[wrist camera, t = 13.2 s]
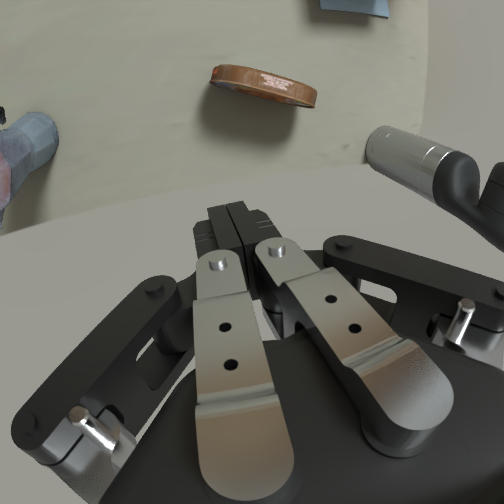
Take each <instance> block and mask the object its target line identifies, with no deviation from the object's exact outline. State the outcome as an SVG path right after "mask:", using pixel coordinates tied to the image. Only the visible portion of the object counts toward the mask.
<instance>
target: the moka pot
mask: <svg viewBox="0 0 504 504" xmlns="http://www.w3.org/2000/svg"><path fill="white" fill-rule="evenodd" d="M4 112H5V110H4V108H3V107H1V106H0V124H2V125H3V124H4V123H5V122H6V118H5V113H4ZM58 142H59V137H58V132H57V128H56V125H55V123H54V122H53V120H52V119H51V118H50V117H48V116H47V115H46V114H44V113H42V112H28V113H26V114H25V115H24V116H22V117H21V118H20V119H19V120H17V121H16V122H15V123H13V124H12V125H11V126H10V127H9V128H8V129H3V130H0V230H2V219H3V214H4V210H5V207H6V206H7V205H8V204H9V203H10V202H11V201H12V199H13V198H14V196H15V194H16V193H17V191H18V189H19V188H20V186H21V185H22V183H23V182H24V181H25V179H26V178H27V176H28V175H29V173H31V172H33V171H34V170H36V169H38V168H40V167H41V166H43V165H44V164H45V163H47V162H48V161H49V160H50V159H51V158H52V157H53V156H54V154H55V151H56V148H57V145H58Z"/></svg>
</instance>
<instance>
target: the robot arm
mask: <svg viewBox="0 0 504 504" xmlns="http://www.w3.org/2000/svg"><path fill="white" fill-rule="evenodd" d="M366 156H367V160H368V163H369V165H370V166H371V167H372V168H373V169H374V170H375V171H378V172H379V173H381V174H383V175H385V176H387V177H388V178H390V179H392V180H394V181H396V182H398V183H399V184H401V185H403V186H405V187H407V188H408V189H410V190H412V191H414V192H416V193H417V194H419V195H420V196H422V197H424V198H426V199H428V200H429V201H431V202H432V203H434V204H436V205H438V206H439V207H441V208H442V209H444V210H446V211H447V212H449V213H451V214H453V215H454V216H456V217H457V218H459V219H460V220H462V221H463V222H465V223H466V224H467V225H469V226H470V227H471V228H473V229H474V230H475V231H476V232H478V233H479V234H480V235H481V236H482V237H484V238H485V239H486V240H487V241H489V242H490V243H491V244H493V245H494V246H495V247H496V248H498V249H499V250H500V251H502V252H504V162H499V163H497V164H496V165H495V166H494V167H493V169H492V171H491V173H490V176H489V178H488V181H487V183H486V186H485V188H484V190H483V193H482V195H481V197H480V200H479V189H480V173H479V169H478V166H477V163H476V162H475V160H474V159H473V158H472V157H470V156H469V155H467V154H465V153H462V152H460V151H457V150H455V149H452V148H450V147H447V146H444V145H442V144H439V143H437V142H434V141H431V140H428V139H425V138H423V137H420V136H417V135H414V134H411V133H408V132H405V131H402V130H399V129H396V128H393V127H390V126H383V127H380V128H378V129H377V130H375V131H374V132H373V133H372V135H371V136H370V138H369V140H368V143H367V147H366ZM207 211H208V217H209V220H204V221H200V222H197V223H196V225H195V227H194V228H193V233H194V239H195V244H196V251H197V256H198V261H197V263H196V271H195V272H194V273H193V274H192V275H191V276H189V277H188V278H186V279H184V280H182V281H180V282H178V283H176V281H175V280H174V279H173V278H172V277H169V276H165V275H160V276H154V277H151V278H148V279H146V280H144V281H143V282H141V283H140V284H139V285H138V286H137V287H136V288H135V289H134V290H133V291H132V292H131V293H129V294H128V295H127V297H125V298H124V299H123V300H122V301H121V302H120V303H119V304H118V305H117V306H116V307H115V308H114V309H113V310H112V311H111V312H110V313H109V314H108V315H107V316H106V317H105V318H104V319H103V320H102V321H101V322H100V323H99V324H98V325H97V326H96V327H95V328H94V330H92V332H91V333H90V334H89V335H88V336H87V337H86V338H85V339H84V340H83V341H82V342H81V343H80V344H79V345H78V346H77V347H76V348H75V349H74V350H73V351H72V353H70V354H69V355H68V357H67V358H66V359H65V360H64V361H63V362H62V363H61V364H60V365H59V366H58V367H57V368H56V369H55V370H54V372H53V373H52V374H51V375H50V376H49V377H48V378H47V379H46V380H45V381H44V383H43V384H42V385H41V386H40V387H39V388H38V389H37V390H36V392H35V393H34V394H33V395H32V396H31V397H30V398H29V400H28V401H27V402H26V403H25V404H24V405H23V406H22V407H21V409H20V410H19V411H18V412H17V414H16V415H15V417H14V419H13V421H12V425H11V436H12V439H13V441H14V443H15V444H16V445H17V446H18V447H19V448H20V449H21V450H23V451H24V452H25V453H27V454H28V455H30V456H31V457H33V458H34V459H35V460H36V461H37V462H38V463H39V464H41V465H42V466H44V467H46V468H47V469H49V470H50V471H52V472H53V473H55V474H57V476H59V477H60V478H61V479H62V480H63V481H64V482H65V483H66V484H67V485H68V486H69V487H70V488H71V489H72V490H73V491H74V492H75V493H77V494H78V495H79V496H80V497H81V498H82V499H83V500H85V501H86V502H87V503H88V504H504V371H502V364H503V353H504V282H502V281H499V280H496V279H493V278H489V277H486V276H483V275H481V274H477V273H474V272H471V271H468V270H465V269H462V268H459V267H455V266H452V265H449V264H445V263H442V262H439V261H436V260H433V259H429V258H426V257H423V256H419V255H416V254H412V253H409V252H405V251H402V250H398V249H395V248H392V247H388V246H385V245H381V244H377V243H374V242H370V241H367V240H363V239H359V238H356V237H352V236H345V235H338V236H333V237H330V238H328V239H327V240H326V241H325V242H324V243H323V250H311V251H310V250H302V249H301V248H300V247H299V246H298V245H297V244H296V243H295V242H294V241H292V240H290V239H288V238H283V237H282V236H281V234H280V233H279V231H278V230H277V228H276V227H275V226H274V225H273V223H272V221H271V220H270V218H269V217H268V216H267V214H266V213H264V212H262V211H260V210H258V209H257V210H252V211H249V210H248V208H247V207H246V205H245V204H244V202H243V201H239V202H234V203H229V204H226V206H225V205H220V206H215V207H210V208H207ZM361 279H363V280H366V281H370V282H373V283H375V284H379V285H382V286H385V287H388V288H390V289H392V290H393V291H394V292H395V293H396V295H397V302H396V303H391V302H388V301H385V300H382V299H379V298H376V297H373V296H370V295H367V294H364V293H361V292H360V285H361ZM251 298H252V300H257V299H260V300H261V303H262V311H263V315H264V317H265V319H266V321H267V323H268V325H269V327H270V329H271V331H272V332H273V334H274V336H275V338H276V340H269V341H262V339H261V335H260V331H259V328H258V323H257V320H256V316H255V312H254V308H253V304H252V300H251ZM152 337H153V339H154V341H153V342H152V344H151V345H150V346H149V347H148V348H147V349H146V351H145V352H144V353H143V354H142V355H141V357H140V358H139V359H138V360H137V361H136V358H137V355H138V353H139V352H140V351H141V349H142V348H143V347H144V346H145V345H146V344H147V342H148V341H149V340H150V339H151V338H152ZM194 355H195V366H196V368H195V369H194V370H193V371H191V372H190V373H188V374H187V375H186V376H185V377H184V378H183V379H182V380H181V381H180V382H179V383H178V384H177V386H176V387H175V389H174V390H173V392H172V393H171V395H170V396H169V398H168V399H167V401H166V402H165V403H164V405H163V407H162V408H161V410H160V411H159V413H158V414H157V416H156V417H155V418H154V420H153V421H152V423H151V425H150V426H149V427H148V429H147V431H146V432H145V433H144V435H143V436H142V438H141V439H140V441H139V442H138V444H137V442H136V439H135V437H136V435H137V434H138V433H139V431H140V430H141V429H142V427H143V426H144V425H145V423H146V422H147V420H148V419H149V417H150V416H151V415H152V413H153V412H154V411H155V409H156V408H157V407H158V405H159V404H160V402H161V401H162V400H163V398H164V397H165V396H166V394H167V393H168V391H169V390H170V389H171V387H172V386H173V385H174V383H175V382H176V380H177V379H178V378H179V376H180V375H181V374H182V372H183V371H184V369H185V368H186V366H187V365H188V363H189V362H190V361H191V360H192V358H193V357H194Z"/></svg>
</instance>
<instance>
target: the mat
mask: <svg viewBox="0 0 504 504" xmlns="http://www.w3.org/2000/svg"><path fill="white" fill-rule="evenodd" d="M319 1H320V7H321V9H325V10H338V11H348V12H357V13H364V14H371V15H378V16H384V17H390V15H389V8H388V2H387V0H319Z"/></svg>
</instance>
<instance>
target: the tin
mask: <svg viewBox="0 0 504 504" xmlns="http://www.w3.org/2000/svg"><path fill="white" fill-rule="evenodd" d="M209 83H210V84H213V85H215V86H218V87H221V88H225V89H229V90H234V91H238V92H242V93H246V94H251V95H255V96H259V97H262V98H266V99H270V100H274V101H277V102H281V103H285V104H289V105H294V106H299V107H305V108H315V101H316V97H317V91H316V90H315V89H314V88H312V87H310V86H308V85H305V84H303V83H300V82H297V81H294V80H291V79H288V78H285V77H282V76H278V75H275V74H272V73H268V72H264V71H261V70H257V69H253V68H249V67H244V66H238V65H226V64H225V65H219V66H217V67H215V68H214V69H213V73H212V77H211V80H210V82H209Z"/></svg>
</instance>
